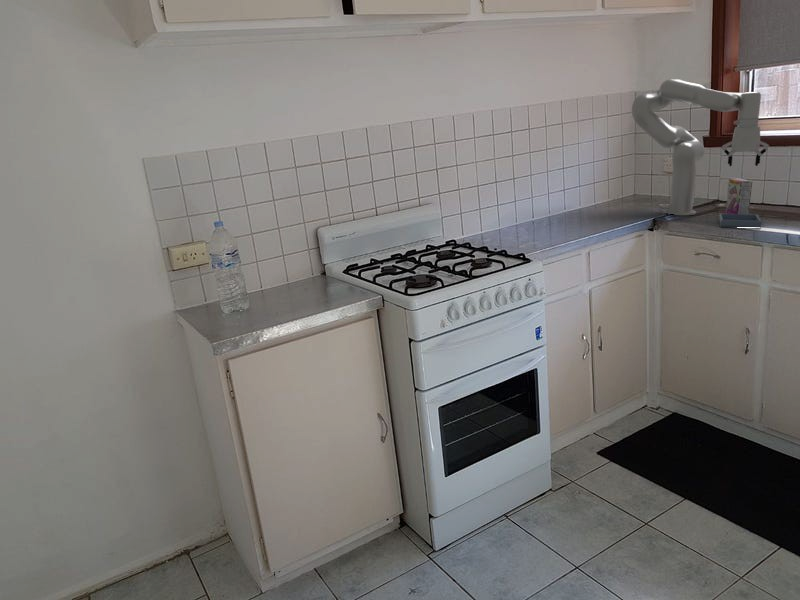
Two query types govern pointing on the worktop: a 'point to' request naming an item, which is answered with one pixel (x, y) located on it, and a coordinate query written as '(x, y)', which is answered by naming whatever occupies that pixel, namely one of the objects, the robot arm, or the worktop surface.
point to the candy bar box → (738, 196)
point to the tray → (739, 220)
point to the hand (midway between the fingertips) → (743, 165)
